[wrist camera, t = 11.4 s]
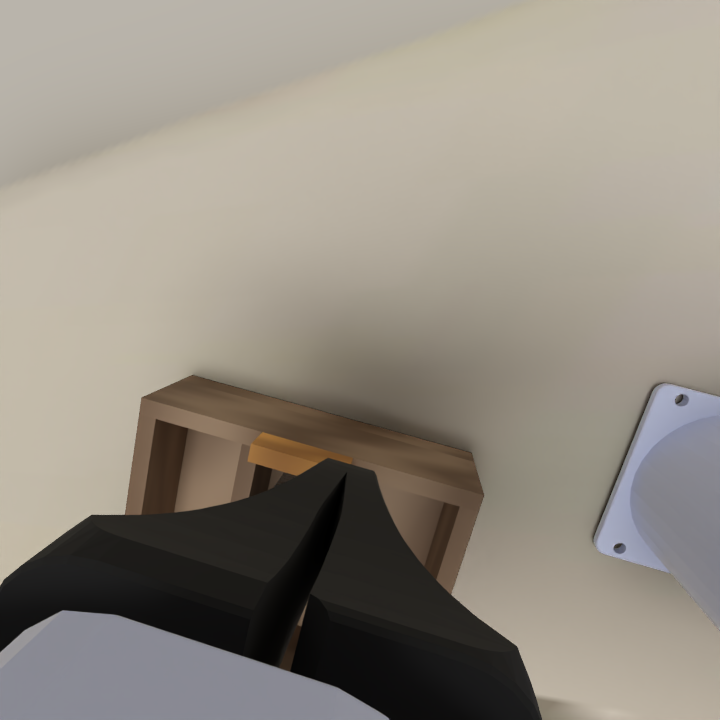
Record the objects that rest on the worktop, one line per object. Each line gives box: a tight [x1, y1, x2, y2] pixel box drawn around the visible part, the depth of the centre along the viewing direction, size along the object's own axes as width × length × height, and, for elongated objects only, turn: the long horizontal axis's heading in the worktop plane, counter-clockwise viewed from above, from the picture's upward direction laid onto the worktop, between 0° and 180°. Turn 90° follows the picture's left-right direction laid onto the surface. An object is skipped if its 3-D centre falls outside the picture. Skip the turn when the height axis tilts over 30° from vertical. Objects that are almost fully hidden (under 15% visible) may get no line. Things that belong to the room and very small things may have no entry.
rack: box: [125, 375, 484, 672], centre depth 20 cm, size 14×11×5 cm
